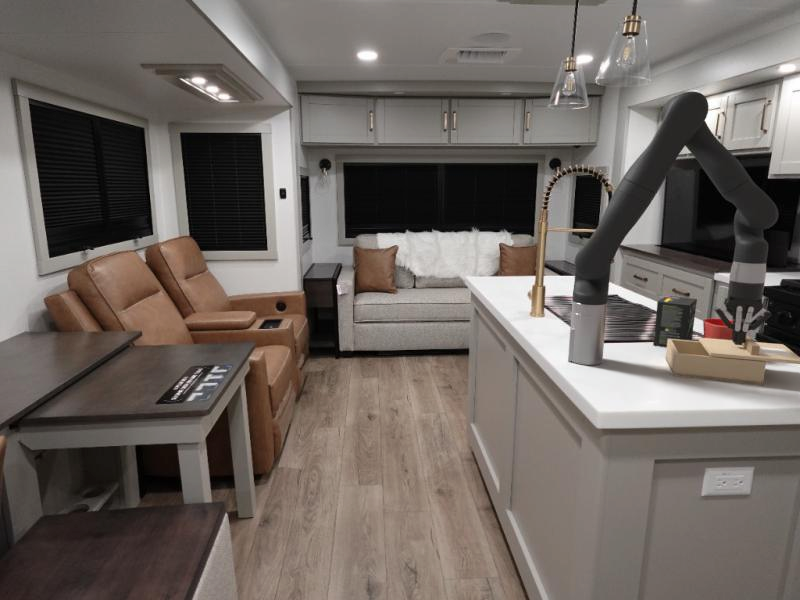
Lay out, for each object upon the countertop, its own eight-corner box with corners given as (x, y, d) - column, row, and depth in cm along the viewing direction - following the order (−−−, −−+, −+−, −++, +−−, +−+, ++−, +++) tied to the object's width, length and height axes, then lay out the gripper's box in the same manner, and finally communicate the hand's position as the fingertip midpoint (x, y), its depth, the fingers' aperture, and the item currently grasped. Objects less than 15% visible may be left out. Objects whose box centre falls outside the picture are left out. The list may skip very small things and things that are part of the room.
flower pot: (733, 349, 157) (738, 319, 155) (747, 361, 147) (751, 328, 145) (695, 347, 160) (699, 316, 158) (705, 357, 149) (709, 325, 147)
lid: (710, 355, 131) (712, 343, 130) (698, 340, 145) (700, 329, 144) (804, 364, 125) (806, 351, 124) (782, 347, 138) (784, 335, 138)
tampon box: (660, 338, 170) (665, 294, 167) (692, 343, 164) (697, 298, 161) (652, 345, 161) (656, 300, 158) (684, 351, 156) (690, 304, 153)
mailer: (673, 375, 135) (676, 353, 134) (665, 358, 149) (667, 338, 148) (762, 384, 128) (766, 362, 127) (745, 366, 142) (748, 345, 141)
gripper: (720, 280, 130) (712, 345, 134) (782, 283, 126) (772, 350, 130) (714, 276, 137) (706, 338, 141) (772, 278, 133) (762, 342, 136)
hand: (737, 344), depth 135 cm, fingers closed
